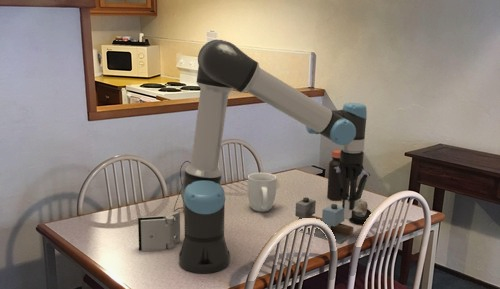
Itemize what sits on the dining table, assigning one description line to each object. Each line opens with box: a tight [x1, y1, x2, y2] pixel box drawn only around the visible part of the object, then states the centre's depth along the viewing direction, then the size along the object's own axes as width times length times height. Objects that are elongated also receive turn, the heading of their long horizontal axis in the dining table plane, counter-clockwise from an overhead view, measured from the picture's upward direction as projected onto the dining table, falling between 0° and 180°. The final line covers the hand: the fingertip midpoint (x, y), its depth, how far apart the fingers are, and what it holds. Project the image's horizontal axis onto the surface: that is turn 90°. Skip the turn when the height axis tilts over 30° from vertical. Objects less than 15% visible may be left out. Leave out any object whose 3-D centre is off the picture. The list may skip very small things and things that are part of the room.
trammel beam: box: [294, 196, 354, 238], centre depth 174 cm, size 7×20×9 cm, turn 52°
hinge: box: [137, 211, 181, 252], centre depth 157 cm, size 14×5×10 cm, turn 116°
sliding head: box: [321, 203, 346, 229], centre depth 172 cm, size 7×5×8 cm
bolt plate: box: [299, 228, 351, 244], centre depth 172 cm, size 7×20×1 cm, turn 52°
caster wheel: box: [348, 198, 372, 226], centre depth 184 cm, size 7×11×10 cm
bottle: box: [326, 149, 343, 202], centre depth 204 cm, size 7×7×20 cm
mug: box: [247, 172, 277, 213], centre depth 189 cm, size 15×11×13 cm
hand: (347, 217), depth 169 cm, fingers closed
